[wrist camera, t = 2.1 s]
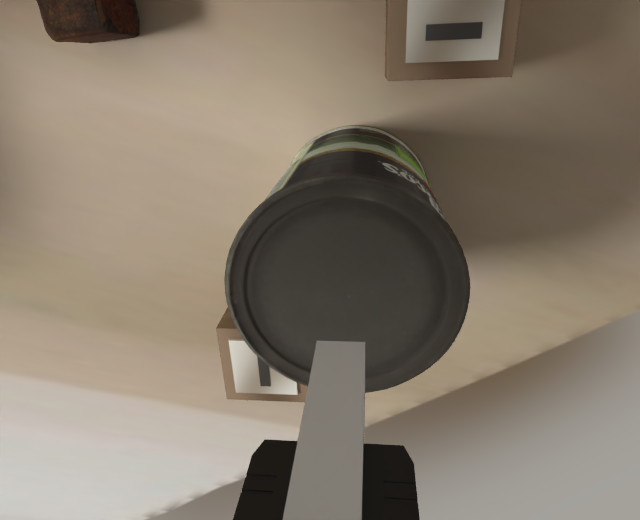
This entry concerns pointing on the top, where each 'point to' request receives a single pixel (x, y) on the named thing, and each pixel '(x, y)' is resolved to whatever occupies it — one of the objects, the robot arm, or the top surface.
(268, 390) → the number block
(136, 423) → the top surface
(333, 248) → the coffee can
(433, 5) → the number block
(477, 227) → the top surface
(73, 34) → the brick
